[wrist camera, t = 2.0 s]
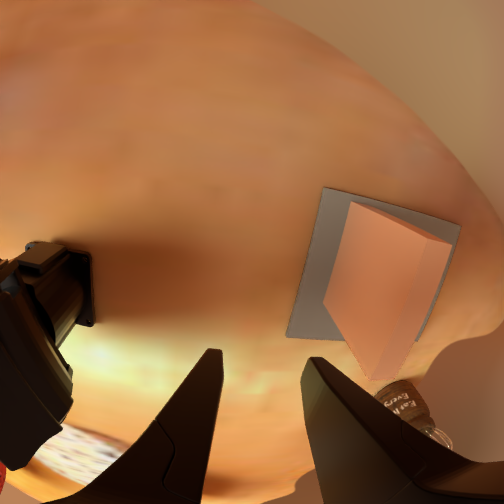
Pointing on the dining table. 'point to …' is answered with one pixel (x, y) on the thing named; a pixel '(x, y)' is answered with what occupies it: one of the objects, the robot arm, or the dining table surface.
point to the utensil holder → (407, 406)
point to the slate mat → (325, 252)
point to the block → (383, 287)
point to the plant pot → (2, 475)
